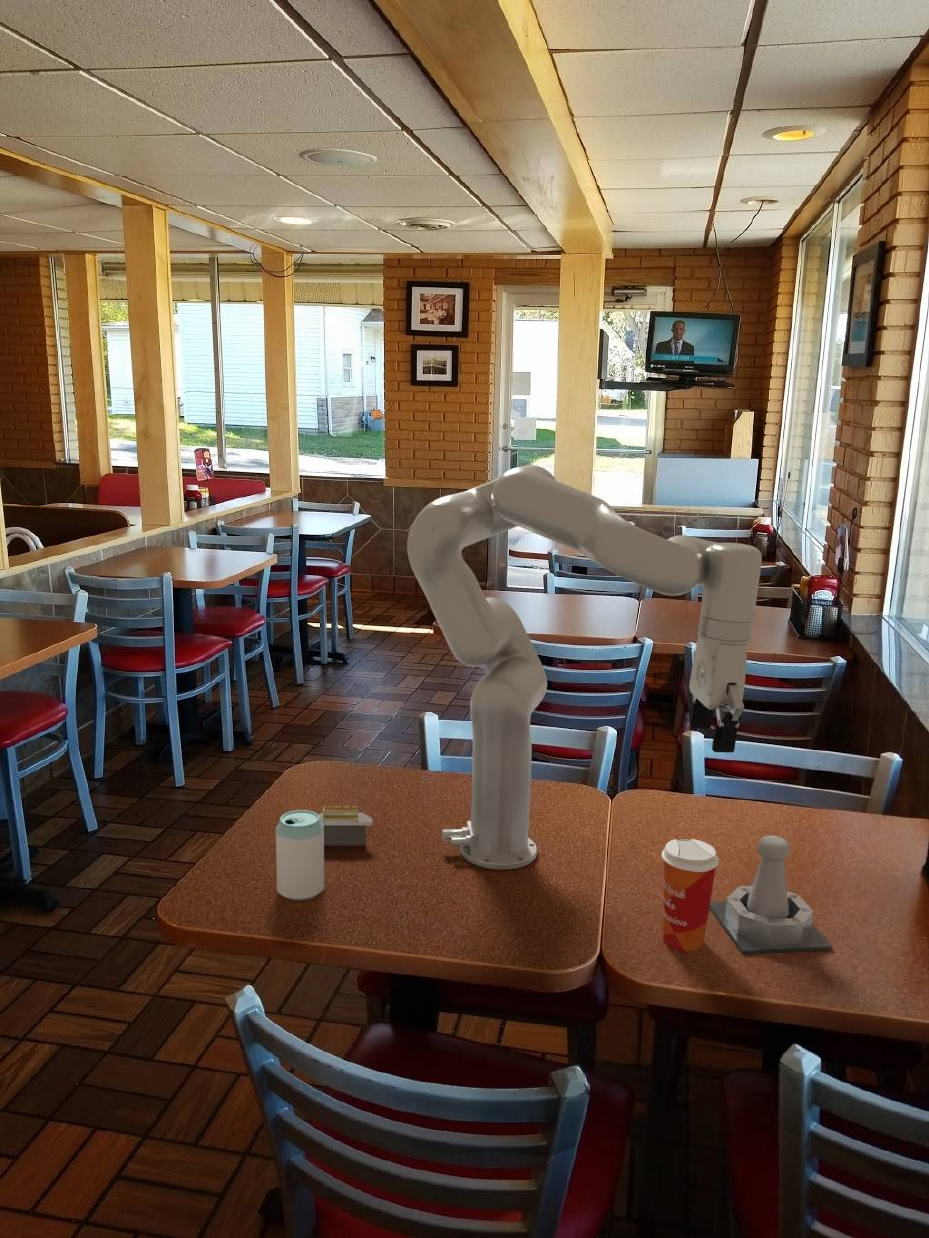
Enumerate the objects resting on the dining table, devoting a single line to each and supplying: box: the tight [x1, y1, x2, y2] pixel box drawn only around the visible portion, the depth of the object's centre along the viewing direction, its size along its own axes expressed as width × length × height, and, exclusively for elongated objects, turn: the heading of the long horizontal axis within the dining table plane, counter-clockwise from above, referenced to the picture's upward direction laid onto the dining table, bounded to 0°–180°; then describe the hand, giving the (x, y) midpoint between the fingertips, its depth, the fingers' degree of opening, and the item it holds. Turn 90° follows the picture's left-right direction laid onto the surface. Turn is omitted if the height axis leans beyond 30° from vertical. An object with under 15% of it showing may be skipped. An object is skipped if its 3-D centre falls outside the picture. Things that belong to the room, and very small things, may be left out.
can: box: [275, 809, 325, 901], centre depth 144 cm, size 7×7×12 cm
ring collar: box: [709, 885, 833, 956], centre depth 139 cm, size 13×13×4 cm
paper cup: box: [661, 838, 720, 953], centre depth 133 cm, size 8×8×14 cm
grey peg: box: [747, 835, 791, 919], centre depth 138 cm, size 6×6×13 cm
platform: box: [317, 806, 373, 846], centre depth 161 cm, size 12×18×7 cm, turn 93°
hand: (711, 739), depth 144 cm, fingers open, 9 cm apart
